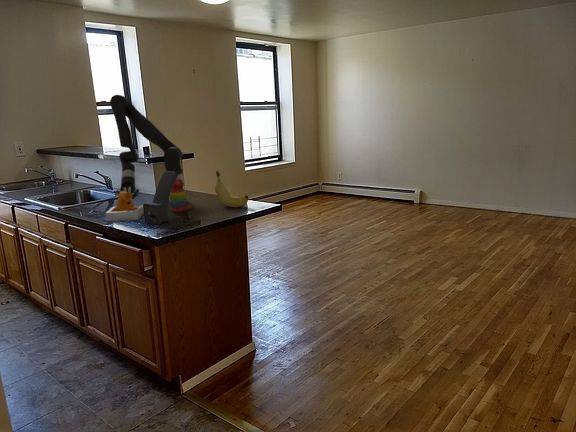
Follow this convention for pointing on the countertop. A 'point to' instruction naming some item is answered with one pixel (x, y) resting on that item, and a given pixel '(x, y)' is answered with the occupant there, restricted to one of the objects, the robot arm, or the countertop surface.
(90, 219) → the countertop surface
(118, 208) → the orange tapered block
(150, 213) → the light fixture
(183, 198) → the stacking bear
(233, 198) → the banana
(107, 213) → the bracket
